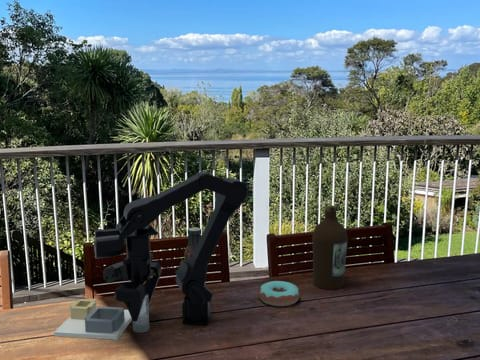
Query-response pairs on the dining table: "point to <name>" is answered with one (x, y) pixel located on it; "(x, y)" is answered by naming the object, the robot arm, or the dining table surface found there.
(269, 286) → the donut
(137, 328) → the metal cylinder
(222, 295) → the dining table surface
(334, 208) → the olive oil
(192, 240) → the sauce bottle
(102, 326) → the fitting plate
